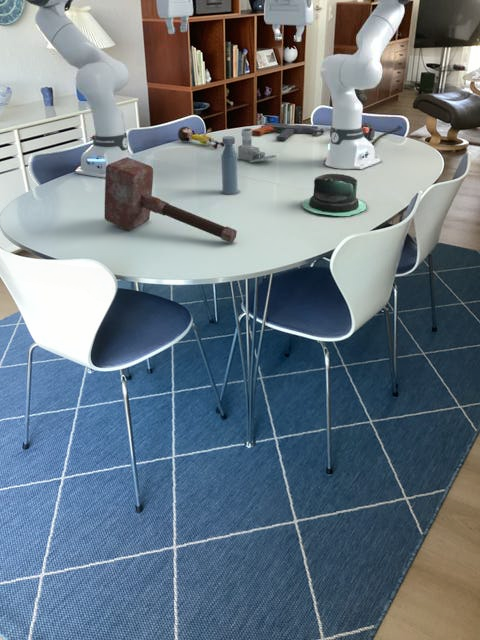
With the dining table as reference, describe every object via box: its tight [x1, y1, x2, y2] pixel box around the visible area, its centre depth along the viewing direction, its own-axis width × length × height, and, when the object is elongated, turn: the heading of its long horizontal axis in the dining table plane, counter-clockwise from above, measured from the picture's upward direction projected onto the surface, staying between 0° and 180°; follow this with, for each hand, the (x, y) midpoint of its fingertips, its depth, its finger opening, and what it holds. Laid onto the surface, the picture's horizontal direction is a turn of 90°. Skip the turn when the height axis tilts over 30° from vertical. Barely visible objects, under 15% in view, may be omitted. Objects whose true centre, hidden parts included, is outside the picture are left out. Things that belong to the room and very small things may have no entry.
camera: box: [237, 127, 277, 163], centre depth 222 cm, size 9×12×15 cm
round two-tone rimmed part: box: [301, 173, 367, 217], centre depth 174 cm, size 15×19×20 cm
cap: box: [221, 135, 236, 146], centre depth 182 cm, size 4×4×2 cm
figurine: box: [177, 126, 225, 150], centre depth 251 cm, size 13×8×25 cm
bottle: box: [220, 144, 239, 195], centre depth 186 cm, size 5×5×18 cm
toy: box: [361, 122, 376, 142], centre depth 244 cm, size 9×9×15 cm
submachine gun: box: [252, 122, 325, 141], centre depth 263 cm, size 32×3×25 cm
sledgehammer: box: [103, 157, 238, 244], centre depth 155 cm, size 17×10×40 cm
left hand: (177, 32), depth 183 cm, fingers open, 8 cm apart
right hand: (287, 40), depth 179 cm, fingers open, 8 cm apart
